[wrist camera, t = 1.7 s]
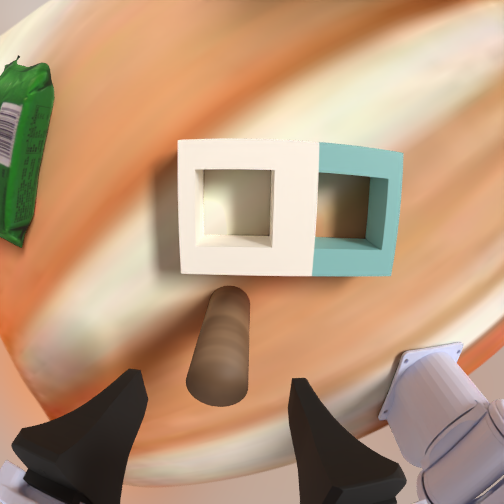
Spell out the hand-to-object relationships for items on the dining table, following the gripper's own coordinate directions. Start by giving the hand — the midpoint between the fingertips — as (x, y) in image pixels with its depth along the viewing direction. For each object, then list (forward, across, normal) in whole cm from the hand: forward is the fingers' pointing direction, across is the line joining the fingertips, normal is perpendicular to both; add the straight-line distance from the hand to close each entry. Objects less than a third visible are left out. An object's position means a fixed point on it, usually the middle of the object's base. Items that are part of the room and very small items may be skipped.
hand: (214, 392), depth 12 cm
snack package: (+10, +18, -13) cm, 24 cm away
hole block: (+9, -4, -8) cm, 13 cm away
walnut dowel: (+9, 0, 0) cm, 9 cm away
